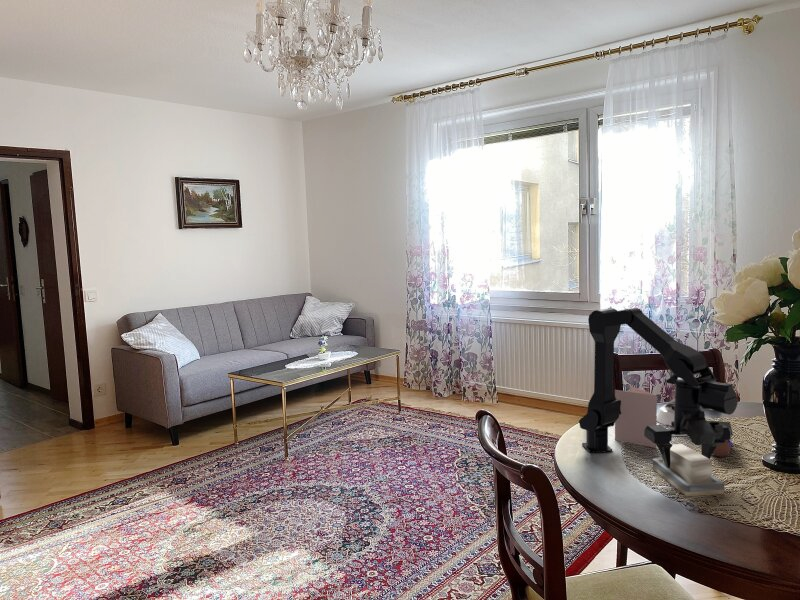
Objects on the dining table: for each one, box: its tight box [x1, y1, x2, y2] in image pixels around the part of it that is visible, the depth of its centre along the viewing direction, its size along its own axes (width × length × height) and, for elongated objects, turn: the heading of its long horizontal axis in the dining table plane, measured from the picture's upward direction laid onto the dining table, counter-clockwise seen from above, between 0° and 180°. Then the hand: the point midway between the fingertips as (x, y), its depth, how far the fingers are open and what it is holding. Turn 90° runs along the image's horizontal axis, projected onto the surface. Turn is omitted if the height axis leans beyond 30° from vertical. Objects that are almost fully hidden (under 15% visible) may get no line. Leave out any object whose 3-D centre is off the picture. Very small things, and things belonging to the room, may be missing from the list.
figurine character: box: [710, 420, 734, 457], centre depth 161 cm, size 7×8×15 cm
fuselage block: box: [663, 443, 713, 484], centre depth 142 cm, size 11×5×6 cm, turn 10°
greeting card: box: [614, 385, 658, 448], centre depth 167 cm, size 11×7×15 cm, turn 16°
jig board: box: [651, 457, 725, 497], centre depth 142 cm, size 16×9×2 cm, turn 3°
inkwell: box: [657, 398, 675, 427], centre depth 179 cm, size 9×18×10 cm, turn 176°
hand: (686, 466), depth 142 cm, fingers open, 9 cm apart
